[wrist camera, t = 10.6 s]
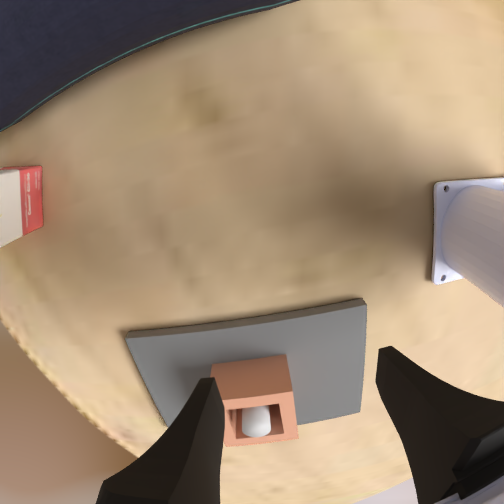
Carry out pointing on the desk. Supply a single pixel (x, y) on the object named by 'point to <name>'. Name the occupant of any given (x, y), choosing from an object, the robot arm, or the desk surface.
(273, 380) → the collar
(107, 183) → the desk surface
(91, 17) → the portable speaker
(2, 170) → the ink cartridge box
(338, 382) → the post base
